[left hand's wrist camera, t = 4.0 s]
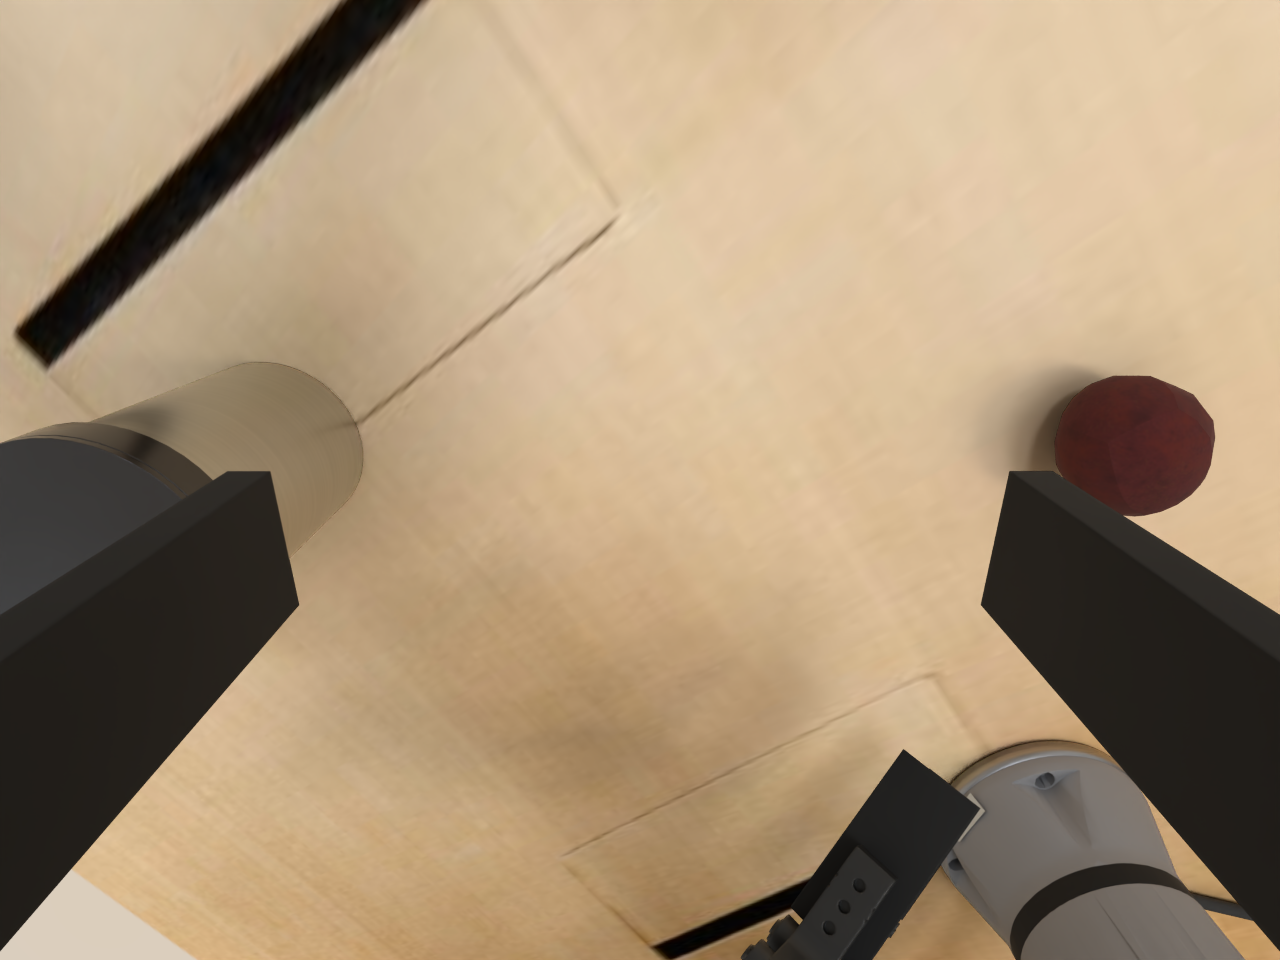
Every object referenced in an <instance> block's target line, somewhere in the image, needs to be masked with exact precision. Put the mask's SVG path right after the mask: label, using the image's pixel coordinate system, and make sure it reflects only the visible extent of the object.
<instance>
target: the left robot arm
mask: <svg viewBox="0 0 1280 960" xmlns="http://www.w3.org/2000/svg"><path fill="white" fill-rule="evenodd" d="M298 606H299V602H298V597H297V592H296V588H295V583H294V578H293V574H292V569H291V564H290V560H289V555H288V550H287V546H286V541H285V536H284V532H283V527H282V522H281V518H280V513H279V508H278V504H277V499H276V494H275V490H274V485H273V480H272V476H271V471H227V472H225V473H224V474H222V475H220V476H219V477H217V478H216V479H214V480H213V481H211V482H209V483H208V484H206V485H205V486H203V487H201V488H200V489H198V490H197V491H195V492H194V493H192V494H190V495H189V496H187V497H186V498H184V499H183V500H181V501H179V502H178V503H176V504H175V505H173V506H171V507H170V508H168V509H167V510H165V511H164V512H162V513H160V514H159V515H157V516H156V517H154V518H152V519H151V520H149V521H148V522H146V523H145V524H143V525H141V526H140V527H138V528H137V529H135V530H134V531H132V532H130V533H129V534H127V535H126V536H124V537H122V538H121V539H119V540H118V541H116V542H115V543H113V544H111V545H110V546H108V547H107V548H105V549H103V550H102V551H100V552H99V553H97V554H96V555H94V556H92V557H91V558H89V559H88V560H86V561H84V562H83V563H81V564H80V565H78V566H77V567H75V568H73V569H72V570H70V571H69V572H67V573H66V574H64V575H62V576H61V577H59V578H58V579H56V580H54V581H53V582H51V583H50V584H48V585H47V586H45V587H43V588H42V589H40V590H39V591H37V592H35V593H34V594H32V595H31V596H29V597H28V598H26V599H24V600H23V601H21V602H20V603H18V604H17V605H15V606H13V607H12V608H10V609H9V610H7V611H5V612H4V613H2V614H1V615H0V951H1V950H2V949H3V947H4V946H5V945H6V944H7V943H8V942H9V940H10V939H11V938H12V937H13V936H14V935H15V934H16V932H17V931H18V930H19V929H20V928H21V927H22V925H23V924H24V923H25V922H26V921H27V920H28V918H29V917H30V916H31V915H32V914H33V913H34V911H35V910H36V909H37V908H38V907H39V906H40V905H41V903H42V902H43V901H44V900H45V899H46V898H47V896H48V895H49V894H50V893H51V892H52V891H53V889H54V888H55V887H56V886H57V885H58V884H59V883H60V881H61V880H62V879H63V878H64V877H65V875H66V874H67V873H68V872H69V871H70V870H71V869H72V867H73V866H74V865H75V864H76V863H77V862H78V861H79V859H80V858H81V857H82V856H83V855H84V854H85V852H86V851H87V850H88V849H89V848H90V847H91V845H92V844H93V843H94V842H95V841H96V840H97V839H98V837H99V836H100V835H101V834H102V833H103V832H104V830H105V829H106V828H107V827H108V826H109V825H110V823H111V822H112V821H113V820H114V819H115V818H116V817H117V815H118V814H119V813H120V812H121V811H122V810H123V808H124V807H125V806H126V805H127V804H128V803H129V801H130V800H131V799H132V798H133V797H134V796H135V795H136V793H137V792H138V791H139V790H140V789H141V788H142V786H143V785H144V784H145V783H146V782H147V781H148V779H149V778H150V777H151V776H152V775H153V774H154V772H155V771H156V770H157V769H158V768H159V767H160V766H161V764H162V763H163V762H164V761H165V760H166V759H167V757H168V756H169V755H170V754H171V753H172V752H173V750H174V749H175V748H176V747H177V746H178V745H179V744H180V742H181V741H182V740H183V739H184V738H185V737H186V735H187V734H188V733H189V732H190V731H191V730H192V728H193V727H194V726H195V725H196V724H197V723H198V722H199V720H200V719H201V718H202V717H203V716H204V715H205V713H206V712H207V711H208V710H209V709H210V708H211V706H212V705H213V704H214V703H215V702H216V701H217V700H218V698H219V697H220V696H221V695H222V694H223V693H224V691H225V690H226V689H227V688H228V687H229V686H230V684H231V683H232V682H233V681H234V680H235V679H236V678H237V676H238V675H239V674H240V673H241V672H242V671H243V669H244V668H245V667H246V666H247V665H248V664H249V662H250V661H251V660H252V659H253V658H254V657H255V655H256V654H257V653H258V652H259V651H260V650H261V649H262V647H263V646H264V645H265V644H266V643H267V642H268V640H269V639H270V638H271V637H272V636H273V635H274V633H275V632H276V631H277V630H278V629H279V628H280V627H281V625H282V624H283V623H284V622H285V621H286V620H287V618H288V617H289V616H290V615H291V614H292V613H293V611H294V610H295V609H296V608H297V607H298ZM981 606H982V607H983V608H984V609H985V610H986V611H987V613H988V614H989V615H990V616H991V617H992V618H993V620H994V621H995V622H996V623H997V624H998V625H999V627H1000V628H1001V629H1002V630H1003V631H1004V632H1005V633H1006V635H1007V636H1008V637H1009V638H1010V639H1011V640H1012V642H1013V643H1014V644H1015V645H1016V646H1017V647H1018V649H1019V650H1020V651H1021V652H1022V653H1023V654H1024V655H1025V657H1026V658H1027V659H1028V660H1029V661H1030V662H1031V664H1032V665H1033V666H1034V667H1035V668H1036V669H1037V671H1038V672H1039V673H1040V674H1041V675H1042V676H1043V678H1044V679H1045V680H1046V681H1047V682H1048V683H1049V684H1050V686H1051V687H1052V688H1053V689H1054V690H1055V691H1056V693H1057V694H1058V695H1059V696H1060V697H1061V698H1062V700H1063V701H1064V702H1065V703H1066V704H1067V705H1068V706H1069V708H1070V709H1071V710H1072V711H1073V712H1074V713H1075V715H1076V716H1077V717H1078V718H1079V719H1080V720H1081V722H1082V723H1083V724H1084V725H1085V726H1086V727H1087V728H1088V730H1089V731H1090V732H1091V733H1092V734H1093V735H1094V737H1095V738H1096V739H1097V740H1098V741H1099V742H1100V744H1101V745H1102V746H1103V747H1104V748H1105V749H1106V750H1107V752H1108V753H1109V754H1110V755H1111V756H1112V757H1113V759H1114V760H1115V761H1116V762H1117V763H1118V764H1119V766H1120V767H1121V768H1122V769H1123V770H1124V771H1125V772H1126V774H1127V775H1128V776H1129V777H1130V778H1131V779H1132V781H1133V782H1134V783H1135V784H1136V785H1137V786H1138V788H1139V789H1140V790H1141V791H1142V792H1143V793H1144V795H1145V796H1146V797H1147V798H1148V799H1149V800H1150V801H1151V803H1152V804H1153V805H1154V806H1155V807H1156V808H1157V810H1158V811H1159V812H1160V813H1161V814H1162V815H1163V817H1164V818H1165V819H1166V820H1167V821H1168V822H1169V823H1170V825H1171V826H1172V827H1173V828H1174V829H1175V830H1176V832H1177V833H1178V834H1179V835H1180V836H1181V837H1182V839H1183V840H1184V841H1185V842H1186V843H1187V844H1188V845H1189V847H1190V848H1191V849H1192V850H1193V851H1194V852H1195V854H1196V855H1197V856H1198V857H1199V858H1200V859H1201V861H1202V862H1203V863H1204V864H1205V865H1206V866H1207V867H1208V869H1209V870H1210V871H1211V872H1212V873H1213V874H1214V876H1215V877H1216V878H1217V879H1218V880H1219V881H1220V883H1221V884H1222V885H1223V886H1224V887H1225V888H1226V889H1227V891H1228V892H1229V893H1230V894H1231V895H1232V896H1233V898H1234V899H1235V900H1236V901H1237V902H1238V903H1239V905H1240V906H1241V907H1242V908H1243V909H1244V910H1245V911H1246V913H1247V914H1248V915H1249V916H1250V917H1251V918H1252V920H1253V921H1254V922H1255V923H1256V924H1257V925H1258V927H1259V928H1260V929H1261V930H1262V931H1263V932H1264V934H1265V935H1266V936H1267V937H1268V938H1269V939H1270V940H1271V942H1272V943H1273V944H1274V945H1275V946H1276V947H1277V949H1278V950H1279V951H1280V615H1279V614H1278V613H1276V612H1275V611H1273V610H1271V609H1270V608H1268V607H1267V606H1265V605H1263V604H1262V603H1260V602H1259V601H1257V600H1256V599H1254V598H1252V597H1251V596H1249V595H1248V594H1246V593H1245V592H1243V591H1241V590H1240V589H1238V588H1237V587H1235V586H1233V585H1232V584H1230V583H1229V582H1227V581H1226V580H1224V579H1222V578H1221V577H1219V576H1218V575H1216V574H1214V573H1213V572H1211V571H1210V570H1208V569H1207V568H1205V567H1203V566H1202V565H1200V564H1199V563H1197V562H1196V561H1194V560H1192V559H1191V558H1189V557H1188V556H1186V555H1184V554H1183V553H1181V552H1180V551H1178V550H1177V549H1175V548H1173V547H1172V546H1170V545H1169V544H1167V543H1165V542H1164V541H1162V540H1161V539H1159V538H1158V537H1156V536H1154V535H1153V534H1151V533H1150V532H1148V531H1146V530H1145V529H1143V528H1142V527H1140V526H1139V525H1137V524H1135V523H1134V522H1132V521H1131V520H1129V519H1128V518H1126V517H1124V516H1123V515H1121V514H1120V513H1118V512H1116V511H1115V510H1113V509H1112V508H1110V507H1109V506H1107V505H1105V504H1104V503H1102V502H1101V501H1099V500H1097V499H1096V498H1094V497H1093V496H1091V495H1090V494H1088V493H1086V492H1085V491H1083V490H1082V489H1080V488H1079V487H1077V486H1075V485H1074V484H1072V483H1071V482H1069V481H1067V480H1066V479H1064V478H1063V477H1061V476H1060V475H1058V474H1056V473H1055V472H1053V471H1009V476H1008V480H1007V485H1006V490H1005V494H1004V499H1003V504H1002V508H1001V513H1000V518H999V522H998V527H997V532H996V536H995V541H994V546H993V550H992V555H991V560H990V564H989V569H988V574H987V578H986V583H985V588H984V592H983V597H982V602H981Z"/></svg>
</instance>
